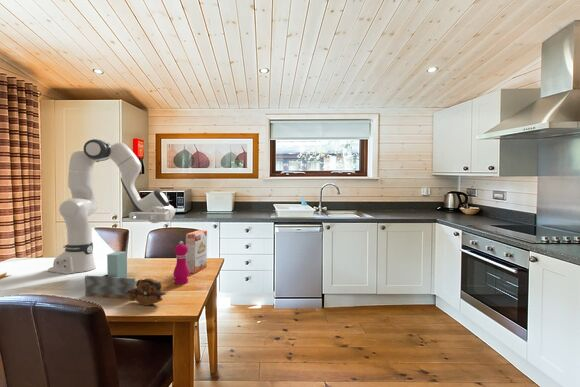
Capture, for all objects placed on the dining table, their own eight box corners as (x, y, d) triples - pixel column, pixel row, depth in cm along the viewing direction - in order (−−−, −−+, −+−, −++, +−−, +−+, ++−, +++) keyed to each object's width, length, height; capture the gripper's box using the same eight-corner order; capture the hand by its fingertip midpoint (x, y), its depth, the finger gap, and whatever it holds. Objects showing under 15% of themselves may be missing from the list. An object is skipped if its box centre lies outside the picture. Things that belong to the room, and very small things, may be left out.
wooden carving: (123, 304, 129) (123, 279, 129) (131, 300, 134) (131, 276, 133) (162, 308, 127) (162, 282, 126) (168, 303, 131) (168, 279, 131)
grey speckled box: (85, 296, 138) (84, 276, 138) (113, 282, 156) (113, 265, 156) (133, 299, 135) (133, 279, 135) (157, 285, 153) (157, 267, 153)
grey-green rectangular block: (107, 292, 139) (107, 254, 139) (117, 287, 146) (117, 251, 145) (117, 292, 139) (116, 255, 138) (127, 287, 145) (126, 251, 144)
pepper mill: (180, 285, 153) (180, 243, 152) (170, 283, 157) (169, 241, 156) (192, 281, 159) (192, 240, 158) (182, 279, 163) (182, 239, 162)
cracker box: (195, 273, 172) (195, 234, 171) (185, 273, 174) (184, 233, 173) (207, 266, 186) (207, 230, 185) (197, 266, 187) (197, 229, 186)
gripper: (137, 208, 180) (121, 211, 166) (173, 209, 177) (159, 211, 163) (138, 220, 180) (121, 223, 166) (173, 221, 177) (159, 224, 164)
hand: (140, 217), depth 165 cm, fingers open, 8 cm apart
